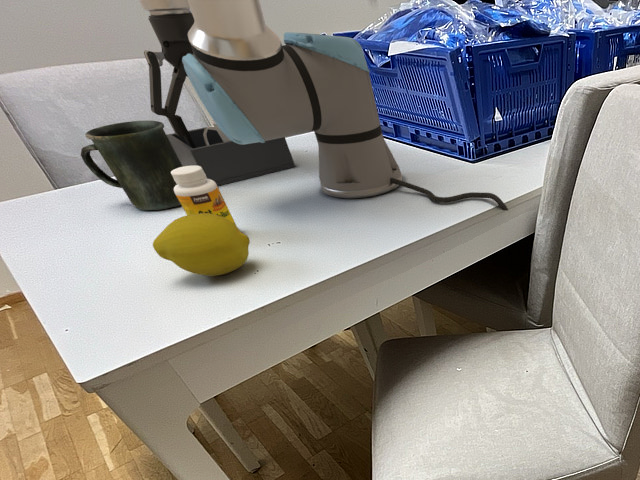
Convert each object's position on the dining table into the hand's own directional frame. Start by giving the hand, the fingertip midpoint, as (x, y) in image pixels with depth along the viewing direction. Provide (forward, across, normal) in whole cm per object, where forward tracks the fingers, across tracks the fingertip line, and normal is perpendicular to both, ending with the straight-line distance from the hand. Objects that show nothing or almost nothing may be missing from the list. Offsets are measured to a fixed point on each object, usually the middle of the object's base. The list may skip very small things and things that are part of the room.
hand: (230, 146), depth 93 cm
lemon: (+5, +19, +47) cm, 51 cm away
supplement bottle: (+5, +15, +35) cm, 38 cm away
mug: (+5, +18, +9) cm, 21 cm away
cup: (+4, -1, -1) cm, 4 cm away
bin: (+4, 0, 0) cm, 4 cm away
